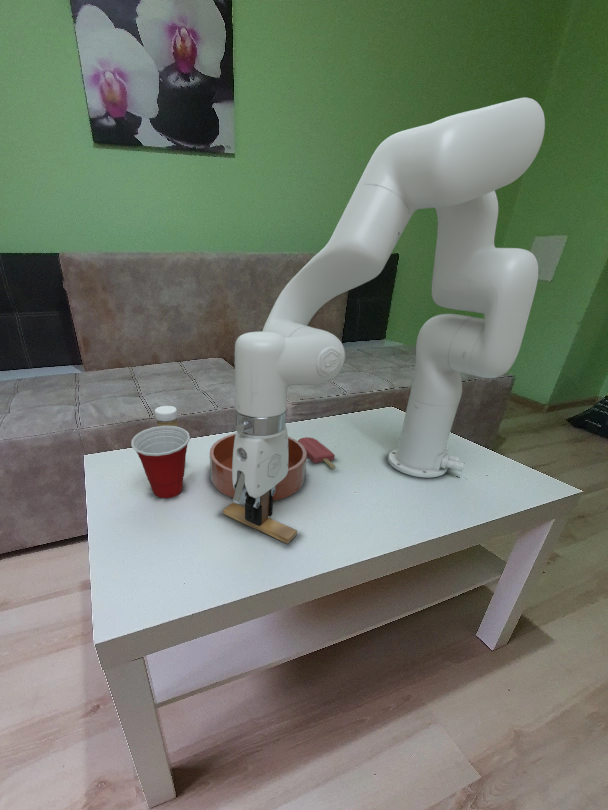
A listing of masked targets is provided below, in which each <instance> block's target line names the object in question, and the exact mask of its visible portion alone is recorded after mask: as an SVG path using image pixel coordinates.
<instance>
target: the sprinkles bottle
mask: <svg viewBox="0 0 608 810" xmlns="http://www.w3.org/2000/svg"><path fill="white" fill-rule="evenodd" d="M154 418H155V420H156V425H157V426H176V427H179V426H178V409H177V407H175V406H172V405H162V406H157V407H156V408H154ZM157 426H156V427H157Z"/></svg>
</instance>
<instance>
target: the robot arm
mask: <svg viewBox="0 0 608 810" xmlns="http://www.w3.org/2000/svg"><path fill="white" fill-rule="evenodd" d="M545 130H546V118H545V113H544V110H543V108H542V106H541V105H540V104H539V102H538V101H537V100H535V99H533V98H530V97H519V98H515V99H511V100H508V101H504V102H503V101H502V102H499V103H495V104H491V105H488V106H484V107H480V108H476V109H471V110H468V111H463V112H459V113H456V114H453V115H449V116H446V117H443V118H441V119H440V118H439V119H438V120H435V121H433V122H431V123H427V124H423V125H419V126H416V127H412V128H408V129H405V130H400V131H398V132H396V133H393V134H391V135H390V136H388V137H386V138H385V139H384V140H383V141H382V142H381V143H380V144H379V145H378V146H377V147H376V149H375V150H374V152H373V153H372V155H371V157H370V159H369V161H368V163H367V165H366V167H365V168H364V171H363V173H362V175H361V177H360V178H359V181H358V182H357V185H356V187H355V188H354V191H353V193H352V195H351V197H350V198H349V201H348V202H347V204H346V207H345V209H344V211H343V213H342V215H341V216H340V218H339V221H338V223H337V225H336V227H335V229H334V230H333V233H332V235H331V236H330V239H329V240H328V242H327V243H326V244H325V246H324V247H323V248H322V249H320V251H319V252H318V253H316V254H315V255H314V256H312V258H310V260H309V261H308V262H307V263H306V264H305V265H304V266H303V267H302V268H301V269H300V270H299V271H298V272H297V273H296V274H295V275H294V276H293V277H291V279H290V281H288V282H287V284H286V285H285V286H284V288H283V289H282V290H281V292H280V294H279V295H278V297H277V299H276V300H275V302H274V304H273V306H272V308H271V311H270V312H269V315H268V317H267V319H266V321H265V323H264V325H263V328H262V331H250V332H249V331H248V332H245V333H242V334H241V335H239V336H238V337H237V338H236V340H235V343H234V385H235V386H234V393H235V395H234V399H235V431H236V432H235V433H236V434H235V433H234V434H235V440H234V448H233V460H232V481H233V487H234V489H235V494H234V498H232V503H235V504H238V505H244V507H245V519H246V520H247V521H249V522H251V523H253V524H255V525H258V526H260V525H261V524H262V506H261V505H260V496H262V495H264V494H265V493H266V492H268V491H269V517H271V516H273V512H274V501H273V497H272V496H273V495H274V494H275V485H277V484H278V483H279V482H280V481H282V480H283V479H284V478H285V477H286V475H287V473H288V436H289V434H288V427H287V423H286V419H287V403H288V402H287V401H288V387H289V386H316V385H322V384H325V383H328V382H330V381H331V380H333V379H334V378H335V377H336V376H337V375H338V374H339V373H340V372H341V370H342V368H343V366H344V364H345V360H346V351H345V347H344V345H343V343H342V341H341V340H340V338H338V337H337V336H336V335H335V334H333V333H331V332H330V331H327V330H324V329H321V328H317V327H312V326H309V323H310V322H311V320H312V319H313V317H314V316H315V314H317V312H318V311H319V310H320V309H321V308H322V307H323V306H324V305H325V304H326V303H328V302H329V301H331V300H332V299H334V298H335V297H337V296H340V295H342V294H344V293H345V292H348V291H350V290H353V289H355V288H358V287H360V286H362V285H364V284H366V283H368V282H370V281H371V280H372V281H373V280H374V279H375V278H377V277H378V276H379V275H380V274H381V272H382V271H383V270H384V269H385V266H386V264H387V262H388V260H389V259H390V257H391V255H392V253H393V251H394V249H395V248H396V246H397V244H398V242H399V240H400V238H401V236H402V234H403V233H404V231H405V228H406V227H407V225H408V223H409V222H410V220H411V218H412V216H413V214H414V213H415V212H416V211H418V210H424V209H435V213H436V217H437V232H436V233H437V234H436V243H435V251H434V252H435V253H434V259H433V270H432V271H433V272H432V276H431V277H432V278H431V279H432V280H431V298H432V300H433V302H434V303H435V304H436V305H437V306H439V307H442V308H445V309H450V310H456V311H464V312H471V313H477V314H483V316H484V318H481V317H477V316H471V315H463V314H457V313H442V314H437V315H434V316H432V317H431V318H429V319H428V320H426V321H425V322H424V323H423V325H422V326H421V328H420V329H419V332H418V334H417V337H416V343H415V364H414V373H413V379H412V384H411V388H410V393H409V397H408V401H407V406H406V409H405V414H404V417H403V423H402V428H401V431H400V437H399V441H398V444H397V448H395V449H392V450H391V451H390V452H389V453H388V456H387V462H388V464H389V465H390V466H391V467H392V468H394V469H395V470H397V471H398V472H400V473H402V474H406V475H408V476H412V477H417V478H423V479H424V478H430V479H431V478H438V477H441V476H443V475H445V474H446V473H447V471H448V469H451V470H454V471H457V472H463V470H464V467H465V464H466V462H462V461H461V457H457V456H452V455H450V453H448V451H449V447H447V444H448V441H449V437H450V434H451V430H452V427H453V424H454V422H455V417H456V415H457V411H458V409H459V408H458V407H459V405H460V402H461V398H462V394H463V382H462V381H463V380H462V376H461V374H465V375H469V376H473V377H477V378H483V379H496V378H500V377H501V376H503V375H505V374H506V373H508V372H509V371H510V369H511V368H512V367H513V365H514V363H515V361H516V360H517V357H518V355H519V352H520V350H521V346H522V343H523V338H524V336H525V331H526V327H527V324H528V320H529V317H530V313H531V309H532V305H533V303H534V302H533V301H534V298H535V294H536V291H537V286H538V281H539V263H538V259H537V258H536V256H535V254H534V253H533V252H531V251H530V250H527V249H525V248H519V247H496V246H495V245H496V244H495V237H496V230H497V224H498V218H499V200H498V196H497V193H496V191H497V190H499V189H502V188H504V187H507V186H509V185H511V184H512V183H514V182H515V181H516V180H518V179H519V178H520V177H521V176H522V175H524V174H525V173H526V171H527V170H528V169H529V168H530V166H531V165H532V164H533V162H534V161H535V159H536V157H537V155H538V153H539V151H540V149H541V146H542V143H543V139H544V136H545ZM250 496H252V497H253V498H254V499H253V498H252V497H250Z"/></svg>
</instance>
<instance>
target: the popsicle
mask: <svg viewBox="0 0 608 810" xmlns="http://www.w3.org/2000/svg"><path fill="white" fill-rule="evenodd" d="M297 441H298V442H300V443H301V444H302V445H303V446H304V447H305V449H306V452H307V456H306V458H307V459H309V460H310V461H311V462H312V463H313V464H319V463H325V464H326V465H327V466H328V467H329V468H330V469H336V465H335V464H334V463H333V462H331V461H334V460H335V454H334V453H333V451H332V450H330V449H329V448H328V447H326V446H325V445H324V444H323V443H321V442H320V441H319V440H317V439H316V438H314V437H309V436H308V437H307V436H306V437H305V436H304V437H301V438H299V439H298V440H297Z"/></svg>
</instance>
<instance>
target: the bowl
mask: <svg viewBox="0 0 608 810" xmlns="http://www.w3.org/2000/svg"><path fill="white" fill-rule="evenodd" d="M235 434H236V432H235V433H232V434H229V435H226V436H224V437H221V438H219V439H218V440H217V441H215V442H214V443H213V444H212V446H210V449H209V470H210V480H211V483H212V485H213V486H214V487H215V489H216V490H218V491H219V492H220V493H222V494H223V495H225V496H227V497H230V498H232V499H233V498H234V494H235V489H234V487H233V481H232V460H233V448H234V440H235ZM306 466H307V452H306V449H305V447H304V446H303V445H302V444H301V443H300V442H298V440H297V439H295V438H293V437H291V436H289V435H288V473H287V475H286V477H285V478H284V479H283V480H282V481H280V482H279V483H278V484H277V485H275V494H274V495H273V496H272V497H273V502H275V501H279V500H282V499H286V498H287V497H290V496H292V495H294V494H295V493H297V492H299V490H300V489H301V488H302V487H303V485H304V482H305V478H306V477H305V476H306Z"/></svg>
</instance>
